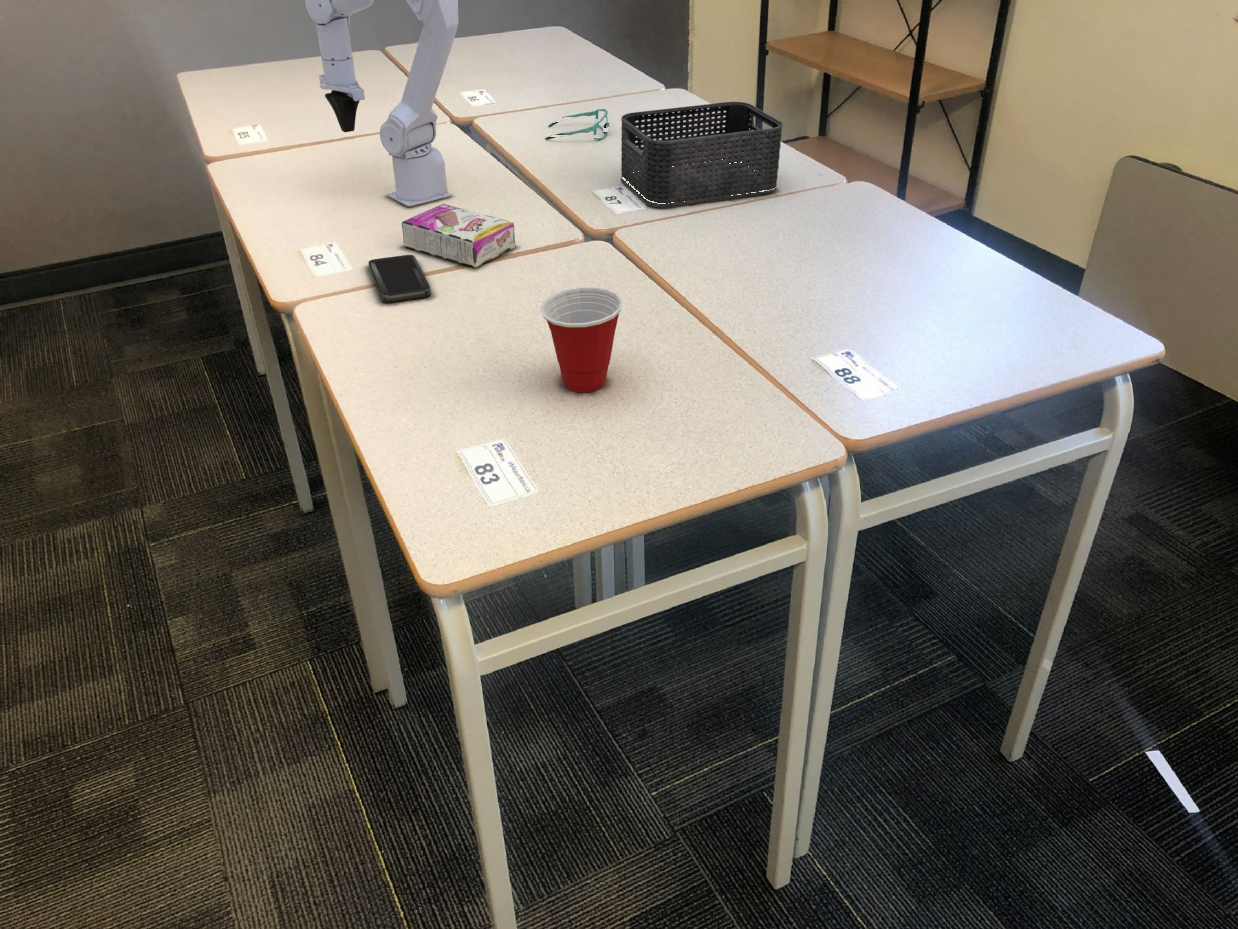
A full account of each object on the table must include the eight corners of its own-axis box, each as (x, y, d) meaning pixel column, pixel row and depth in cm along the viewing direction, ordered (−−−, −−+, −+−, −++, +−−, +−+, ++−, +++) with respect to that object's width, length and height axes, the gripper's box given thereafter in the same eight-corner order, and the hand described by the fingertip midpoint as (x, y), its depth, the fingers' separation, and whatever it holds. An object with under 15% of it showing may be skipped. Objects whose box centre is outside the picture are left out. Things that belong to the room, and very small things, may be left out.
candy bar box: (442, 201, 171) (515, 221, 164) (444, 227, 174) (516, 248, 167) (399, 220, 163) (474, 241, 156) (402, 247, 166) (476, 269, 159)
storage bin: (651, 210, 182) (653, 140, 174) (615, 178, 197) (616, 112, 189) (782, 193, 191) (790, 125, 183) (738, 163, 205) (744, 99, 197)
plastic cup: (542, 363, 134) (538, 285, 127) (618, 361, 135) (619, 283, 128) (543, 404, 125) (540, 322, 118) (625, 401, 126) (626, 320, 119)
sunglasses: (609, 143, 216) (607, 120, 213) (544, 148, 217) (541, 126, 214) (611, 125, 227) (609, 103, 224) (549, 130, 228) (546, 109, 225)
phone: (381, 297, 148) (367, 259, 159) (382, 303, 148) (368, 266, 160) (432, 289, 150) (414, 253, 161) (432, 296, 150) (415, 259, 162)
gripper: (300, 53, 181) (312, 125, 189) (335, 67, 172) (347, 143, 180) (334, 48, 185) (344, 119, 193) (370, 62, 176) (380, 136, 184)
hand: (348, 130), depth 187 cm, fingers closed
